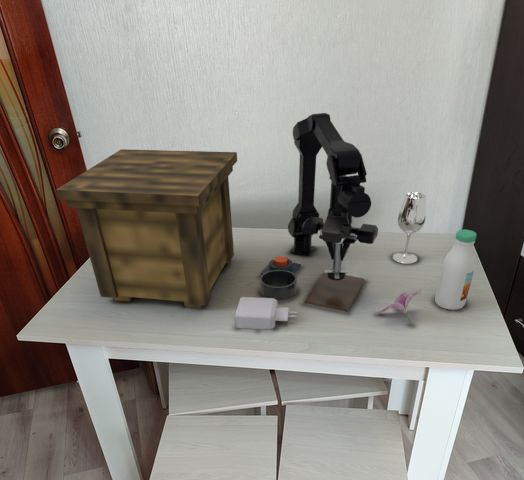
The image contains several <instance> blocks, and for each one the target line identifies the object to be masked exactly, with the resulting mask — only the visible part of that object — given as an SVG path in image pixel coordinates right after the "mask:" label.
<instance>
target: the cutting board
mask: <svg viewBox="0 0 524 480" xmlns="http://www.w3.org/2000/svg"><path fill="white" fill-rule="evenodd" d="M327 274H328V273H324V272H323V273H322V275H321V277H320V278H319V279H318V281H317V282H316V284H315V285H314V287H312V289H311V291H310V292H309V294H308V295H307V297H306V298H305V299H304V301H303V303H304V304H307V305H312V306H316V307H321V308H327V309H332V310H336V311H342V312H346V313H347V312H348V311H349V309H350V307H351V305H353V304H354V301H355V300H356V298H357V296H358V294H359V292H360V290H361V289H362V287H363V286H364V284H365V280H366V279H365V278H364V277H360V276H353V275H347V274H345V278H344V279H342V280H332V279H329V278H328V276H327Z"/></svg>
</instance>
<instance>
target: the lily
mask: <svg viewBox="0 0 524 480" xmlns="http://www.w3.org/2000/svg"><path fill="white" fill-rule="evenodd" d="M421 290H422V288H420V289H417V290H416V291H414V292H412V293H411V294H409V292H408V291H403V292H401V293H399V294H398V295H397V296H396V297H395V298H394V300H393V303H391V304H388V305H386V306H385V307H383V308H382V310H381V311H379V312H378V313H377V315H380V314H382V313H383V312H385V311H388V310H389V309H393V310H399V311H404V312H405V314H406V316H407V320H408V322H409V325H410V326H412V322H411V319H410V316H409V313H408V310H407V309H408V306H409V303H410V302H411V300H412V298H413V297H415V296H417V295H419V294H421V292H420V291H421Z"/></svg>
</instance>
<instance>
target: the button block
mask: <svg viewBox="0 0 524 480" xmlns="http://www.w3.org/2000/svg"><path fill="white" fill-rule="evenodd" d="M274 259H275V258H274ZM274 259H271V260H270V261H269V263H268V265H267V266H266V267H265V268H264V269H263V270H262V272H261V273H260V276H262V275H263V274H264V273H266V272H268V271H272V270H286V271H289V272H292V273H293V274H295V273H296V272H297V271H298V270H299V268H301V263H300V262H299V263H298V262H293V260H291V259H290V258H287V259H288V265H287V266H284V267H278V266H275V265H274Z"/></svg>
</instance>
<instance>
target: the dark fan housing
mask: <svg viewBox="0 0 524 480" xmlns="http://www.w3.org/2000/svg"><path fill="white" fill-rule="evenodd" d="M259 287H260V288H259V292H260V294H261V296H263V298H274V299H276V300H277V301H284V300H289V299H290V298H293V297H294V296H296V294H297V289H298V277H297V275H296V274H295V273H294V274H293V273H292V272H289V271H286V270H272V271H268V272H266V273H264V274H263V275H260V278H259Z"/></svg>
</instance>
